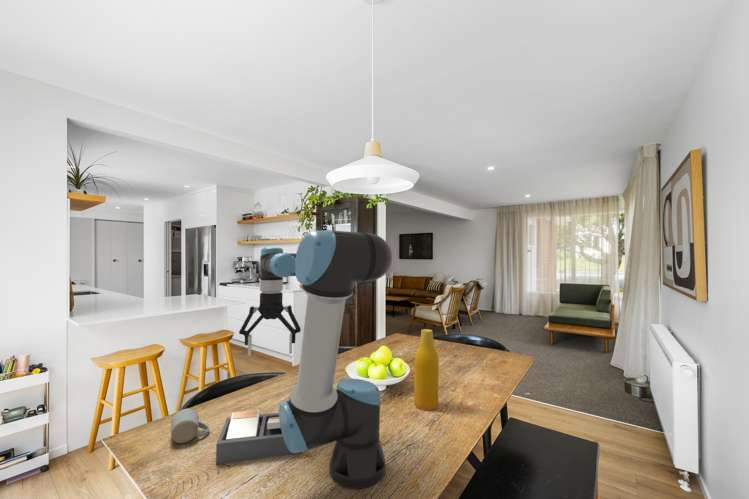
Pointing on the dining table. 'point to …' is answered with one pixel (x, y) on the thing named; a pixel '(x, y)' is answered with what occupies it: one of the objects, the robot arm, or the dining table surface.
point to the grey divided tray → (253, 442)
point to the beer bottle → (426, 373)
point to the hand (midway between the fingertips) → (270, 353)
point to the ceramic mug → (187, 426)
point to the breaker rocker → (243, 425)
